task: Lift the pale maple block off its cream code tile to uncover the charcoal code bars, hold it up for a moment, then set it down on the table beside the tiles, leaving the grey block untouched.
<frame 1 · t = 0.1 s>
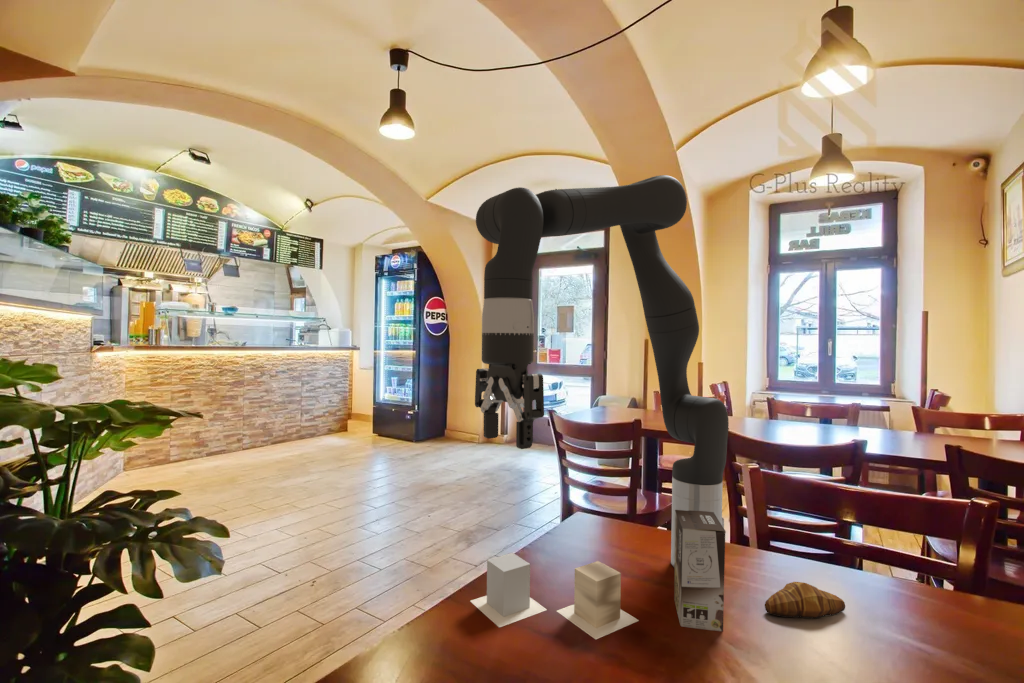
hand: (506, 442, 74), 29 cm above the table, tool pointing down, fingers open, 8 cm apart
maple block: (596, 615, 79), point 1 cm above the table, touching code tile a
croissant: (804, 614, 83), on the table
grey block: (507, 605, 82), point 1 cm above the table, touching code tile b
code tile b: (507, 612, 82), on the table
coffee box: (697, 621, 80), on the table
code tile a: (596, 623, 79), on the table
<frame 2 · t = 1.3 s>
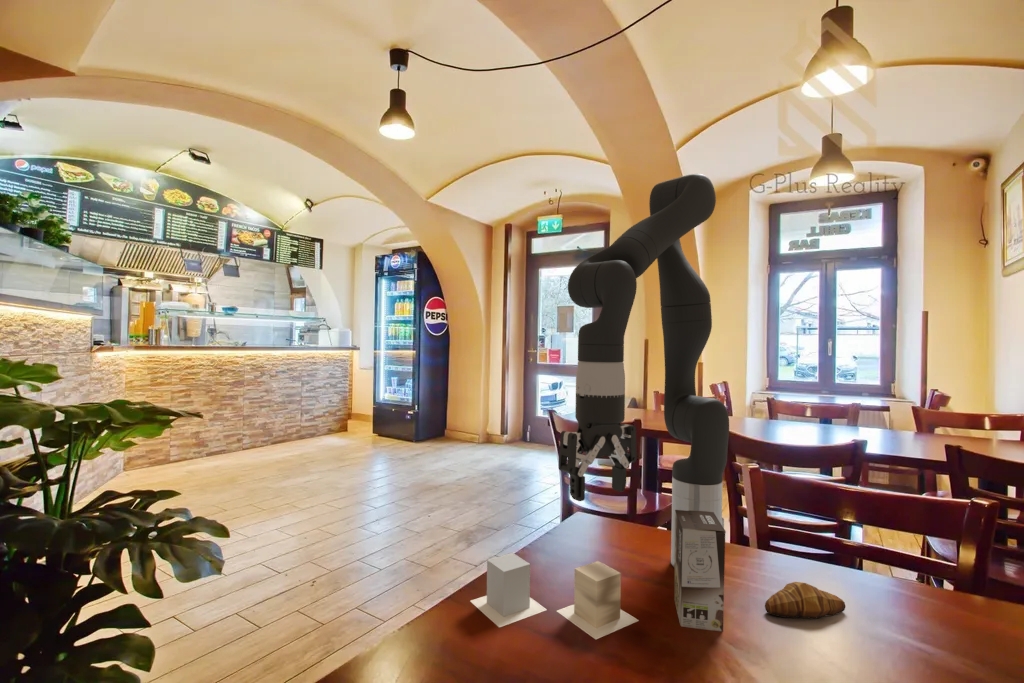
hand: (598, 495, 79), 20 cm above the table, tool pointing down, fingers open, 8 cm apart
nothing on the table moved.
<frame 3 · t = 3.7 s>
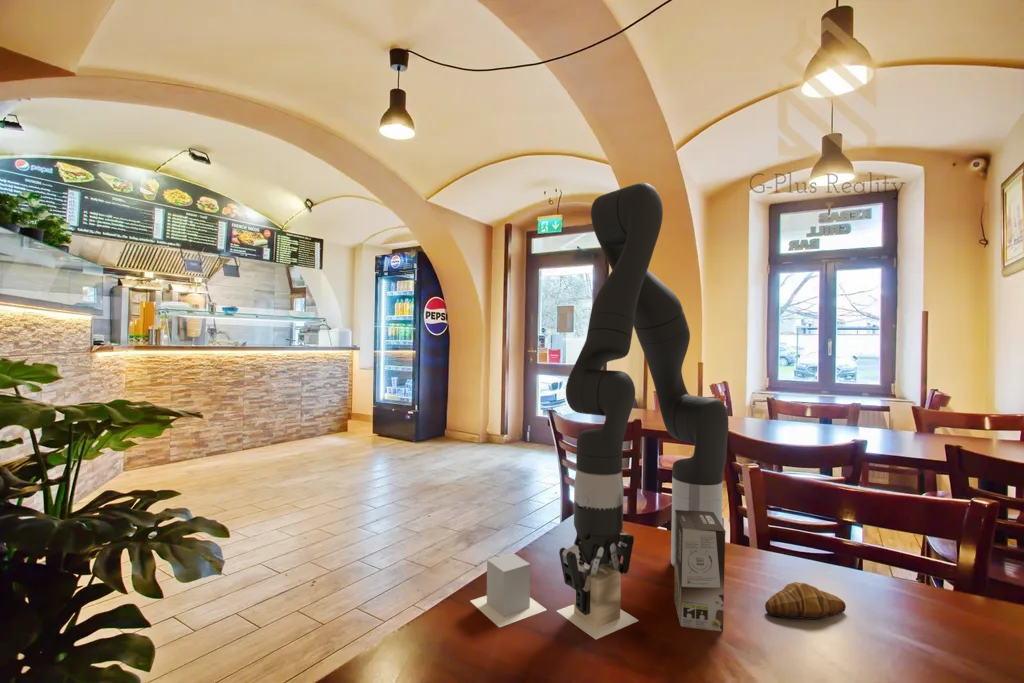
hand: (596, 606, 79), 3 cm above the table, tool pointing down, fingers closed on maple block, 5 cm apart
maple block: (596, 615, 79), point 1 cm above the table, touching code tile a, gripper
everything else where it was.
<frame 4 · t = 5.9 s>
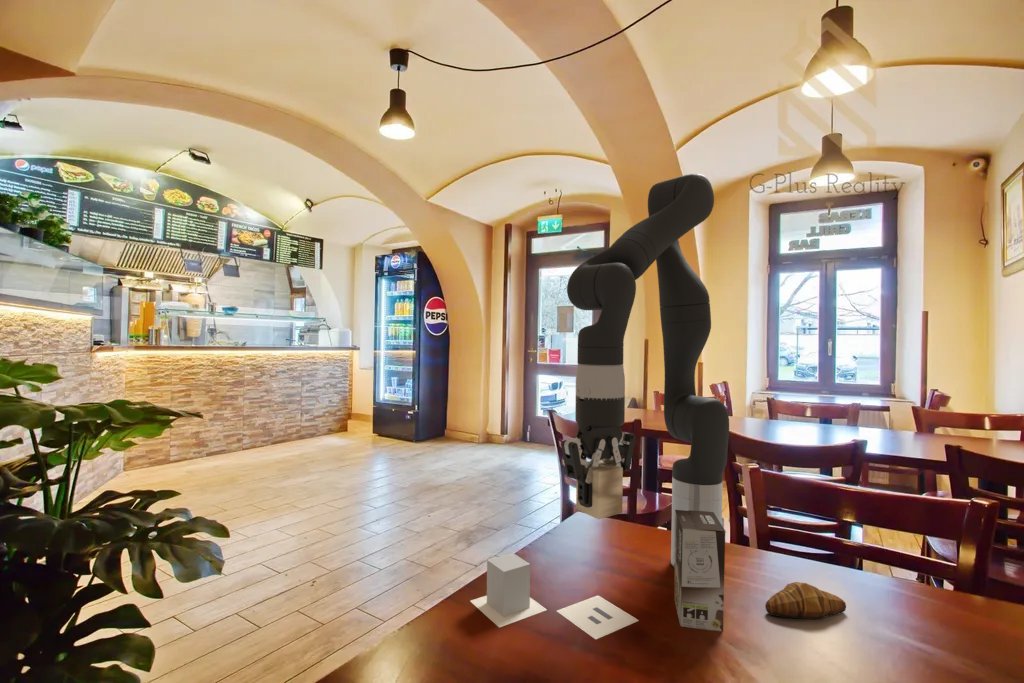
hand: (599, 502, 79), 19 cm above the table, tool pointing down, fingers closed on maple block, 5 cm apart
maple block: (599, 511, 79), point 17 cm above the table, touching gripper
everything else where it was.
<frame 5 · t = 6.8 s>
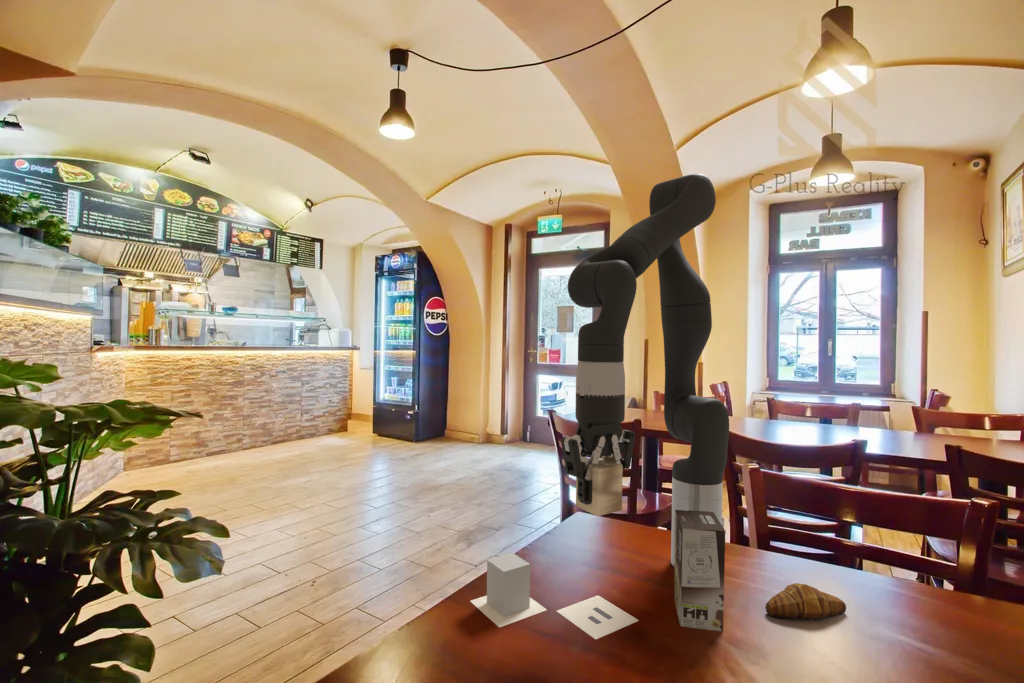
hand: (598, 499, 79), 19 cm above the table, tool pointing down, fingers closed on maple block, 5 cm apart
maple block: (598, 508, 79), point 18 cm above the table, touching gripper
everything else where it was.
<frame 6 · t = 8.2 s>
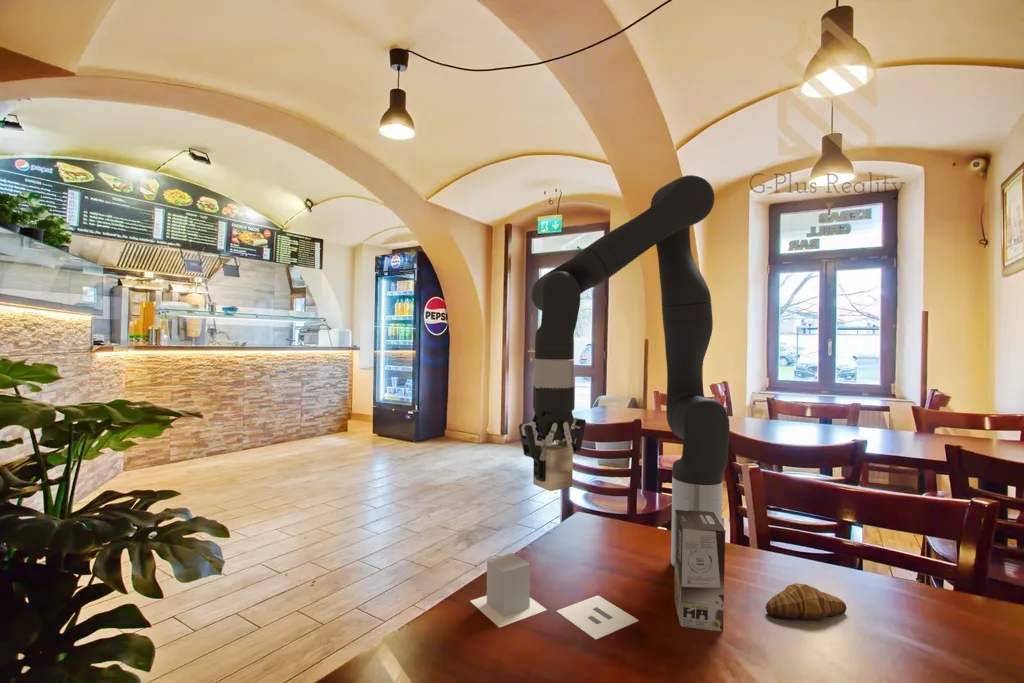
hand: (552, 477, 91), 19 cm above the table, tool pointing down, fingers closed on maple block, 5 cm apart
maple block: (552, 485, 92), point 18 cm above the table, touching gripper
everything else where it was.
when the fingers open (3 cm above the table, at t = 12.0 s): maple block drops 2 cm, on the table.
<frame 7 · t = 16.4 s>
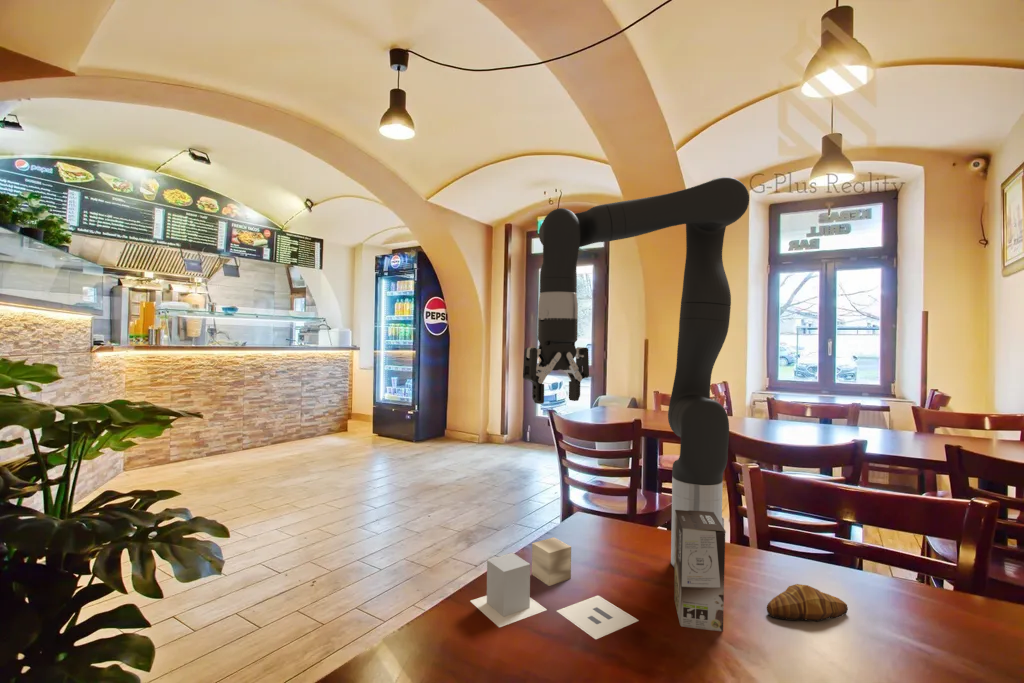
hand: (556, 401, 97), 32 cm above the table, tool pointing down, fingers open, 8 cm apart
maple block: (551, 583, 92), on the table
everything else where it was.
at the end: maple block inside the target area (0.0 cm from its centre), on the table; maple block tilted 0°; the gripper is holding nothing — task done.
